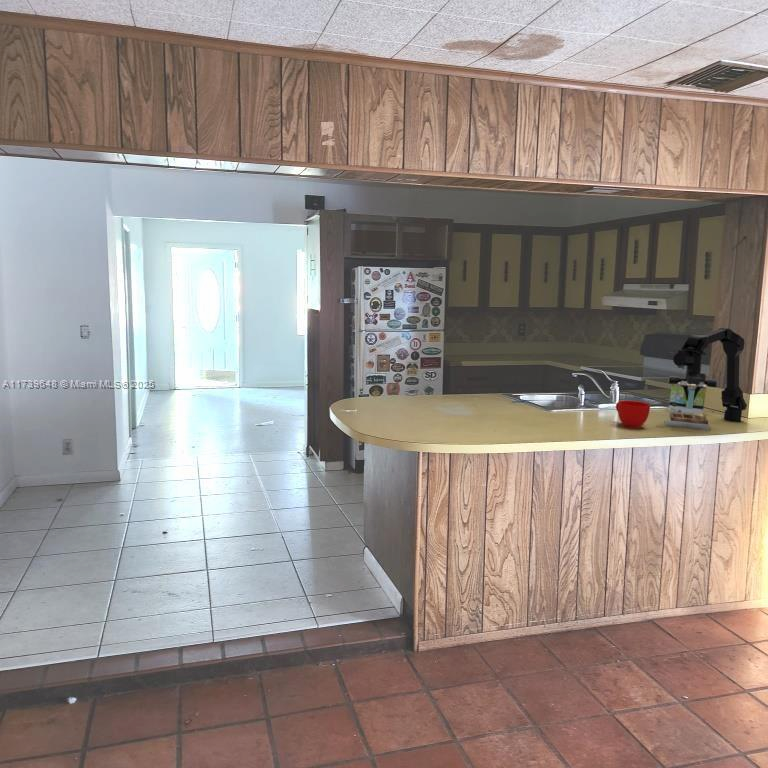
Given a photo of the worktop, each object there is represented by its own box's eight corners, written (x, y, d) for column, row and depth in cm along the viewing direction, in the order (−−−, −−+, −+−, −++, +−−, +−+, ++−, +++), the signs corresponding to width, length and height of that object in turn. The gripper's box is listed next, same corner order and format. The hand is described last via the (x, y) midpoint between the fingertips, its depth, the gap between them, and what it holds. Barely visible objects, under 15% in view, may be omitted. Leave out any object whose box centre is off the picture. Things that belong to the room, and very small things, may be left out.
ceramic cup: (627, 420, 301) (629, 398, 299) (654, 429, 285) (657, 405, 283) (603, 421, 296) (605, 399, 294) (630, 430, 280) (632, 407, 279)
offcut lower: (702, 419, 306) (702, 416, 305) (703, 422, 299) (703, 419, 299) (692, 418, 307) (692, 415, 307) (693, 421, 300) (694, 418, 300)
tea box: (667, 412, 323) (671, 382, 320) (669, 409, 332) (673, 380, 329) (702, 417, 316) (706, 386, 314) (703, 413, 325) (707, 383, 322)
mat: (708, 426, 294) (708, 424, 294) (710, 431, 285) (711, 429, 285) (664, 422, 300) (664, 420, 300) (665, 426, 291) (665, 424, 291)
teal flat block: (691, 406, 294) (693, 388, 293) (692, 409, 288) (694, 390, 286) (686, 405, 295) (688, 387, 293) (687, 408, 288) (689, 390, 287)
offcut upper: (701, 416, 305) (702, 413, 305) (703, 419, 299) (703, 416, 299) (693, 416, 306) (693, 412, 306) (694, 418, 301) (695, 415, 300)
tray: (704, 420, 307) (705, 416, 307) (707, 425, 296) (708, 421, 296) (669, 416, 312) (670, 412, 312) (671, 421, 301) (671, 417, 301)
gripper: (671, 365, 284) (667, 402, 287) (720, 369, 278) (715, 406, 280) (670, 362, 294) (666, 397, 297) (717, 366, 288) (712, 402, 291)
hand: (689, 401), depth 291 cm, fingers closed on teal flat block, 2 cm apart
